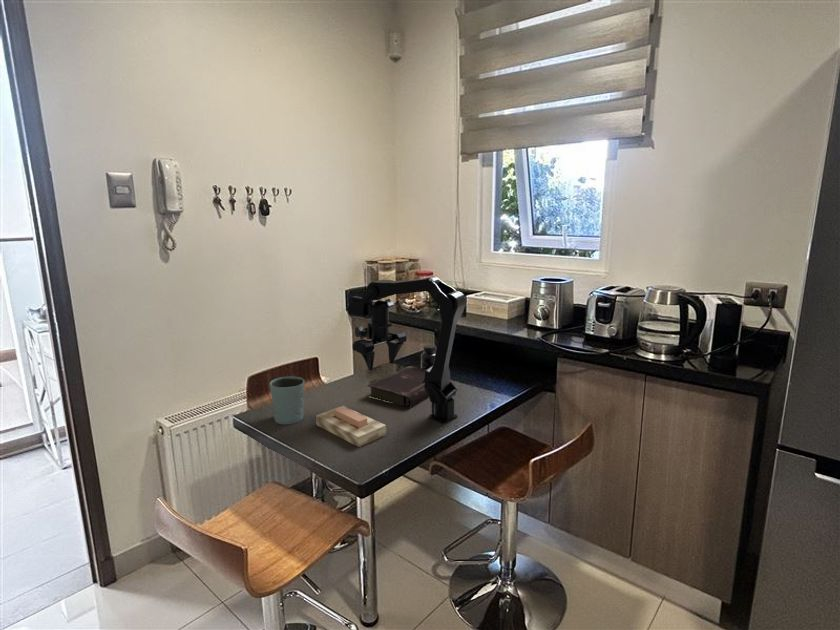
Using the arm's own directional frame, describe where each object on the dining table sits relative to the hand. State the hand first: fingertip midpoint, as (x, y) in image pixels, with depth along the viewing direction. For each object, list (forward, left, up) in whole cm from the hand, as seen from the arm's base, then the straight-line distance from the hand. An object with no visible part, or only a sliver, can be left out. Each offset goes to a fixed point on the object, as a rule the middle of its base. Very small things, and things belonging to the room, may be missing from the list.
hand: (380, 366), depth 159 cm
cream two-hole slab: (-7, +19, -13) cm, 24 cm away
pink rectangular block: (-7, +19, -13) cm, 24 cm away
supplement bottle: (+7, -30, -13) cm, 34 cm away
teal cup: (+13, +27, -13) cm, 32 cm away
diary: (+2, -14, -14) cm, 20 cm away
